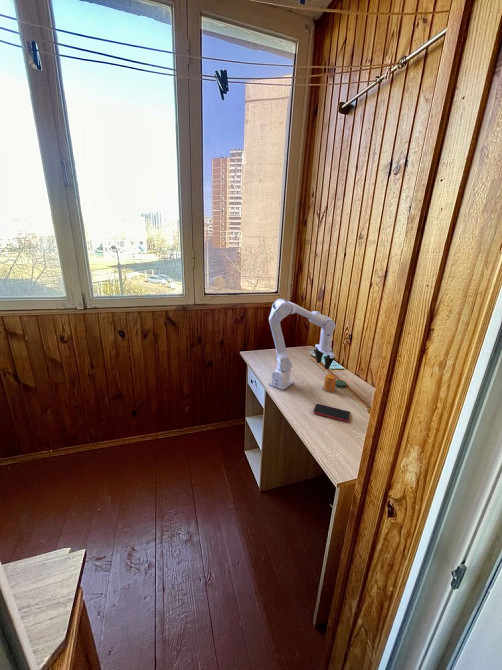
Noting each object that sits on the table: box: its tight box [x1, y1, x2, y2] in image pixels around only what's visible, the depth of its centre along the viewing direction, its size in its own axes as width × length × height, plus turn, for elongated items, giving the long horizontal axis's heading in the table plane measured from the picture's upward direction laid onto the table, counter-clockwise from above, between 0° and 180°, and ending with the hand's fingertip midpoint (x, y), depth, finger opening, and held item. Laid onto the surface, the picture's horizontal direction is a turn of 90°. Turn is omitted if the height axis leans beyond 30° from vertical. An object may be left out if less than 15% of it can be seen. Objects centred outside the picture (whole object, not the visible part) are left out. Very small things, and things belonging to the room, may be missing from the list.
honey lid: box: [335, 379, 347, 389], centre depth 152 cm, size 6×6×1 cm
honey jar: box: [323, 373, 337, 393], centre depth 147 cm, size 6×6×7 cm
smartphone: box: [312, 403, 351, 423], centre depth 128 cm, size 7×1×15 cm
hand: (322, 365), depth 152 cm, fingers open, 7 cm apart
